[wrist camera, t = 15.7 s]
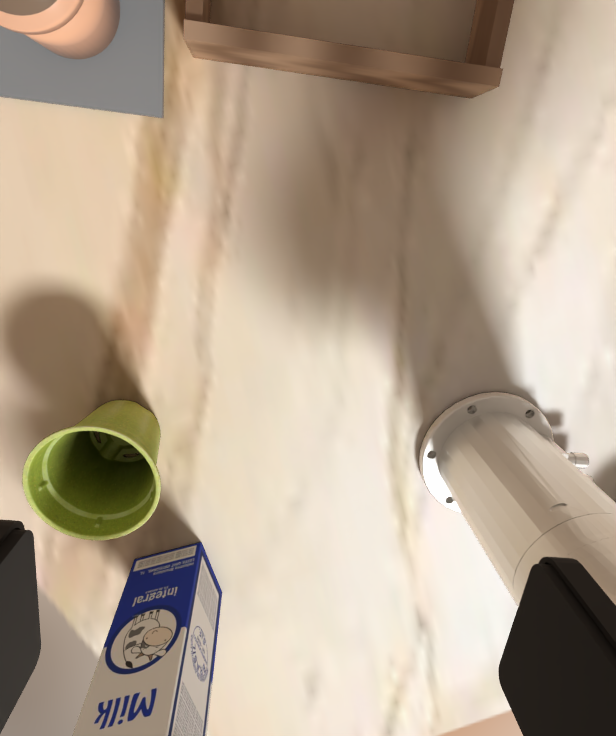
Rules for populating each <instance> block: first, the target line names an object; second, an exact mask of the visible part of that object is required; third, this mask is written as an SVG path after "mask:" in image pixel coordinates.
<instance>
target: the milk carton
mask: <svg viewBox="0 0 616 736" xmlns="http://www.w3.org/2000/svg"><path fill="white" fill-rule="evenodd" d="M221 597H222V591H221V589H220V586H219V584H218V581H217V579H216V577H215V574H214V572H213V569H212V567H211V564H210V562H209V560H208V557H207V555H206V552H205V550H204V548H203V545H202V543H201V542H199V543H196V544H192V545H188V546H184V547H180V548H176V549H173V550H169V551H165V552H161V553H157V554H153V555H150V556H146V557H142V558H138V559H135V560H134V562H133V565H132V568H131V571H130V574H129V577H128V579H127V582H126V585H125V588H124V591H123V594H122V596H121V599H120V602H119V605H118V608H117V610H116V613H115V616H114V619H113V622H112V625H111V627H110V630H109V633H108V636H107V639H106V642H105V644H104V647H103V650H102V653H101V656H100V659H99V661H98V665H97V667H96V670H95V673H94V676H93V678H92V681H91V684H90V687H89V690H88V693H87V696H86V698H85V701H84V704H83V707H82V710H81V712H80V715H79V718H78V721H77V724H76V727H75V729H74V733H73V735H72V736H206V735H207V726H208V717H209V708H210V698H211V689H212V680H213V671H214V661H215V652H216V643H217V634H218V625H219V615H220V606H221Z"/></svg>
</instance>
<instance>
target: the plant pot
mask: <svg viewBox="0 0 616 736" xmlns="http://www.w3.org/2000/svg"><path fill="white" fill-rule="evenodd" d="M95 431H98V432H99V438H100V440H101V443H99V442H98V441H97V439H96V437H95ZM159 442H160V427H159V424H158V422H157V419H156V418H155V416H154V415H153V414H152V413H151V412H150V411H148V410H147V409H145V408H143V407H142V406H140V405H139V404H137V403H136V402H133V401H128V400H115V401H111V402H108V403H105V404H103V405H102V406H100V407H99V408H97V409H96V410H95V411H93V412H92V413H91V414H90V415H88V416H87V417H86V418H85V419H83V420H82V421H81V422H79V423H78V424H77V425H75V426H73V427H68V428H65V429H62V430H59V431H57V432H55V433H53V434H51V435H49V436H47V437H46V438H44V439H43V440H42V441H41V442H39V443H38V444H37V445H36V446H35V448H34V449H33V450H32V451H31V453H30V454H29V456H28V457H27V459H26V462H25V464H24V468H23V474H22V484H23V490H24V493H25V496H26V498H27V501H28V503H29V505H30V506H31V508H32V509H33V510H34V511H35V513H36V514H37V515H38V516H39V517H40V518H41V519H42V520H43V521H44V522H45V523H47V524H48V525H50V526H51V527H53V528H54V529H56V530H58V531H60V532H61V533H64V534H66V535H69V536H72V537H76V538H80V539H85V540H109V539H114V538H118V537H121V536H124V535H127V534H129V533H131V532H133V531H135V530H136V529H138V528H139V527H141V526H142V525H143V524H144V523H145V522H146V521H147V520H148V519H149V518H150V517H151V515H152V514H153V512H154V511H155V509H156V507H157V504H158V502H159V498H160V492H161V481H160V475H159V472H158V469H157V466H156V463H157V456H158V449H159ZM134 453H135V454H136V453H139V454H138V455H137V456H135V457H131V458H126V457H124V456H123V455H124V454H134Z"/></svg>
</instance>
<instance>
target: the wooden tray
mask: <svg viewBox="0 0 616 736" xmlns="http://www.w3.org/2000/svg"><path fill="white" fill-rule="evenodd" d="M513 4H514V0H477V2H476V8H475V13H474V18H473V23H472V28H471V34H470V39H469V44H468V49H467V55H466V60H465V63H462V62H456V61H449V60H443V59H436V58H430V57H424V56H417V55H411V54H404V53H398V52H391V51H385V50H379V49H372V48H366V47H359V46H353V45H346V44H340V43H333V42H327V41H321V40H314V39H308V38H301V37H295V36H288V35H282V34H276V33H269V32H263V31H256V30H250V29H243V28H237V27H230V26H224V25H218V24H211V23H210V10H211V0H186V10H185V19H184V41H185V42H186V44H187V46H188V48H189V50H190V52H191V53H192V55H193V57H194V58H200V59H207V60H214V61H221V62H227V63H234V64H241V65H248V66H255V67H261V68H268V69H275V70H282V71H289V72H295V73H302V74H309V75H316V76H323V77H330V78H336V79H343V80H350V81H357V82H364V83H370V84H377V85H384V86H391V87H398V88H404V89H411V90H418V91H425V92H432V93H438V94H445V95H452V96H459V97H466V98H473V97H476V96H478V95H480V94H483V93H485V92H487V91H490V90H492V89H494V88H497V87H499V84H500V79H501V75H502V70H503V69H501V68H500V65H501V60H502V55H503V51H504V46H505V41H506V37H507V32H508V27H509V23H510V18H511V13H512V9H513Z"/></svg>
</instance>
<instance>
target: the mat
mask: <svg viewBox="0 0 616 736" xmlns="http://www.w3.org/2000/svg"><path fill="white" fill-rule="evenodd" d="M119 1H120V20H119V25H118V29H117V32H116V34H115V36H114V38H113V40H112V41H111V43H110V44H109V45H108V47H107V48H106V49H104V50H103V51H102V52H101V53H99V54H97V55H95V56H93V57H91V58H86V59H69V58H65V57H62V56H59V55H57V54H55V53H53V52H51V51H50V50H48V49H47V48H45V47H43V46H42V45H40V44H39V43H37V42H35V41H34V40H32V39H31V38H29V37H28V36H26V35H24V34H21V33H17V32H14V31H11V30H8V29H6V28H4V27H2V26H0V97H6V98H14V99H21V100H29V101H37V102H44V103H52V104H59V105H67V106H74V107H82V108H90V109H97V110H105V111H112V112H120V113H128V114H135V115H143V116H150V117H158V118H163V102H164V3H165V0H119Z"/></svg>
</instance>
